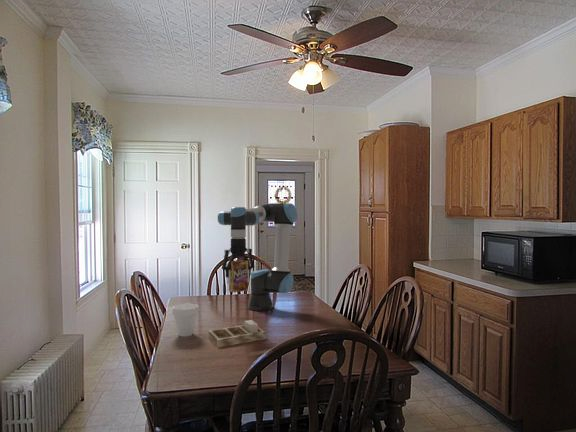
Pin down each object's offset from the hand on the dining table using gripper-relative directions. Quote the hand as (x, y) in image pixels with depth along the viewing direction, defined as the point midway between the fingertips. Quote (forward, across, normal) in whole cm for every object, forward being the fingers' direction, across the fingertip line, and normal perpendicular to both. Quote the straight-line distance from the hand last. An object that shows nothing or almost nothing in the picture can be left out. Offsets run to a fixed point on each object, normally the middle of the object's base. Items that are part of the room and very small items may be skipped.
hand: (238, 283), depth 193 cm
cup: (+25, +24, -8) cm, 35 cm away
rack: (+24, +5, +12) cm, 27 cm away
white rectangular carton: (+23, -2, +12) cm, 26 cm away
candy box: (+4, 0, 0) cm, 4 cm away
